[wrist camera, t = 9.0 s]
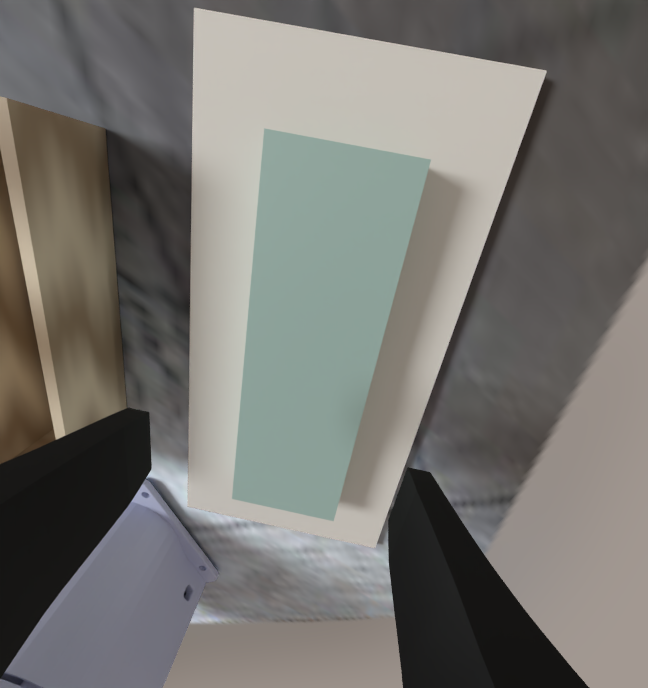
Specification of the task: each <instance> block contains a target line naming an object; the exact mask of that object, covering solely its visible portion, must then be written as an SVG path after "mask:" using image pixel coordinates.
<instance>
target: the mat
mask: <svg viewBox="0 0 648 688" xmlns="http://www.w3.org/2000/svg"><path fill="white" fill-rule="evenodd" d="M546 72H547V71H545V70H540V69H534V68H528V67H523V66H517V65H512V64H506V63H500V62H495V61H489V60H484V59H478V58H472V57H467V56H461V55H456V54H450V53H444V52H439V51H433V50H428V49H422V48H416V47H411V46H405V45H400V44H394V43H388V42H383V41H377V40H372V39H366V38H360V37H355V36H349V35H344V34H338V33H332V32H327V31H321V30H316V29H310V28H304V27H299V26H293V25H288V24H282V23H276V22H271V21H265V20H260V19H254V18H248V17H243V16H237V15H232V14H226V13H220V12H215V11H209V10H204V9H198V8H194V50H193V126H192V202H191V279H190V355H189V432H188V507H191V508H196V509H200V510H205V511H209V512H214V513H218V514H223V515H227V516H232V517H236V518H241V519H245V520H250V521H254V522H259V523H263V524H268V525H273V526H277V527H282V528H286V529H291V530H295V531H300V532H304V533H309V534H313V535H318V536H322V537H327V538H331V539H336V540H340V541H345V542H349V543H354V544H358V545H363V546H367V547H372V548H375V547H376V544H377V541H378V539H379V536H380V533H381V530H382V527H383V525H384V522H385V519H386V516H387V514H388V511H389V508H390V505H391V502H392V500H393V497H394V494H395V491H396V489H397V486H398V483H399V480H400V478H401V475H402V472H403V469H404V466H405V464H406V461H407V458H408V455H409V453H410V450H411V447H412V444H413V441H414V439H415V436H416V433H417V430H418V428H419V425H420V422H421V419H422V416H423V414H424V411H425V408H426V405H427V403H428V400H429V397H430V394H431V391H432V389H433V386H434V383H435V380H436V378H437V375H438V372H439V369H440V366H441V364H442V361H443V358H444V355H445V353H446V350H447V347H448V344H449V341H450V339H451V336H452V333H453V330H454V328H455V325H456V322H457V319H458V316H459V314H460V311H461V308H462V305H463V303H464V300H465V297H466V294H467V292H468V289H469V286H470V283H471V280H472V278H473V275H474V272H475V269H476V267H477V264H478V261H479V258H480V255H481V253H482V250H483V247H484V244H485V242H486V239H487V236H488V233H489V230H490V228H491V225H492V222H493V219H494V217H495V214H496V211H497V208H498V205H499V203H500V200H501V197H502V194H503V192H504V189H505V186H506V183H507V180H508V178H509V175H510V172H511V169H512V167H513V164H514V161H515V158H516V155H517V153H518V150H519V147H520V144H521V142H522V139H523V136H524V133H525V130H526V128H527V125H528V122H529V119H530V117H531V114H532V111H533V108H534V105H535V103H536V100H537V97H538V94H539V92H540V89H541V86H542V83H543V81H544V78H545V75H546ZM264 128H265V129H270V130H276V131H281V132H286V133H292V134H297V135H302V136H308V137H313V138H318V139H324V140H329V141H334V142H340V143H345V144H350V145H356V146H361V147H366V148H372V149H377V150H382V151H388V152H393V153H398V154H404V155H409V156H414V157H420V158H425V159H430V160H431V162H430V166H429V169H428V173H427V177H426V180H425V184H424V188H423V192H422V195H421V199H420V203H419V206H418V210H417V214H416V218H415V221H414V225H413V229H412V232H411V236H410V240H409V243H408V247H407V251H406V255H405V258H404V262H403V266H402V269H401V273H400V277H399V281H398V284H397V288H396V292H395V295H394V299H393V303H392V307H391V310H390V314H389V318H388V321H387V325H386V329H385V333H384V336H383V340H382V344H381V347H380V351H379V355H378V359H377V362H376V366H375V370H374V373H373V377H372V381H371V384H370V388H369V392H368V396H367V399H366V403H365V407H364V410H363V414H362V418H361V422H360V425H359V429H358V433H357V436H356V440H355V444H354V448H353V451H352V455H351V459H350V462H349V466H348V470H347V474H346V477H345V481H344V485H343V488H342V492H341V496H340V499H339V503H338V507H337V511H336V514H335V518H334V521H330V520H325V519H321V518H316V517H312V516H307V515H303V514H298V513H294V512H289V511H285V510H280V509H275V508H271V507H266V506H262V505H257V504H253V503H248V502H244V501H239V500H235V499H232V492H233V481H234V469H235V458H236V446H237V435H238V424H239V412H240V401H241V389H242V378H243V366H244V355H245V343H246V332H247V321H248V309H249V298H250V286H251V275H252V263H253V252H254V240H255V229H256V217H257V206H258V195H259V183H260V172H261V160H262V149H263V137H264Z"/></svg>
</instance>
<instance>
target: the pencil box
mask: <svg viewBox="0 0 648 688" xmlns="http://www.w3.org/2000/svg"><path fill="white" fill-rule="evenodd" d="M126 408H127V401H126V388H125V376H124V363H123V350H122V337H121V324H120V311H119V298H118V285H117V272H116V259H115V247H114V234H113V221H112V208H111V195H110V182H109V169H108V156H107V143H106V130H105V128H102V127H99V126H95V125H92V124H89V123H86V122H83V121H79V120H76V119H73V118H70V117H66V116H63V115H60V114H57V113H53V112H50V111H47V110H44V109H41V108H37V107H34V106H31V105H28V104H24V103H21V102H18V101H15V100H11V99H8V98H4V97H0V464H1V463H4V462H6V461H8V460H11V459H13V458H16V457H18V456H20V455H23V454H25V453H28V452H30V451H32V450H35V449H37V448H39V447H41V446H43V445H46V444H48V443H50V442H52V441H54V440H57V439H59V438H61V437H63V436H66V435H68V434H70V433H72V432H74V431H77V430H79V429H81V428H83V427H85V426H87V425H90V424H92V423H94V422H96V421H98V420H101V419H103V418H105V417H107V416H110V415H112V414H114V413H116V412H119V411H121V410H124V409H126Z"/></svg>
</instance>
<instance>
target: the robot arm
mask: <svg viewBox="0 0 648 688" xmlns="http://www.w3.org/2000/svg"><path fill="white" fill-rule="evenodd" d="M151 469H152V468H151V444H150V421H149V412H145V411H140V410H136V409H131V408H126V409H124V410H121V411H119V412H116V413H114V414H112V415H110V416H107V417H105V418H103V419H101V420H98V421H96V422H94V423H92V424H90V425H87V426H85V427H83V428H81V429H79V430H77V431H74V432H72V433H70V434H68V435H66V436H63V437H61V438H59V439H57V440H54V441H52V442H50V443H48V444H46V445H43V446H41V447H39V448H37V449H35V450H32V451H30V452H28V453H25V454H23V455H20V456H18V457H16V458H13V459H11V460H8V461H6V462H4V463H1V464H0V688H163V686H164V683H165V681H166V679H167V676H168V674H169V672H170V669H171V666H172V664H173V662H174V659H175V657H176V655H177V652H178V650H179V647H180V645H181V642H182V640H183V637H184V635H185V633H186V630H187V628H188V626H189V623H190V621H191V618H192V616H193V614H194V611H195V609H196V606H197V604H198V601H199V599H200V597H201V594H202V592H203V589H204V587H205V584H206V583H209V582H214V581H216V580H217V577H218V574H219V573H218V571H217V570H216V568H215V567H214V566H213V564H212V563H211V562H210V560H209V559H208V558H207V556H206V555H205V554H204V552H203V551H202V550H201V549H200V547H199V546H198V545H197V543H196V542H195V541H194V539H193V538H192V537H191V535H190V534H189V533H188V531H187V530H186V529H185V527H184V526H183V525H182V523H181V522H180V521H179V520H178V518H177V517H176V516H175V514H174V513H173V512H172V510H171V509H170V508H169V506H168V505H167V504H166V502H165V501H164V500H163V498H162V497H161V496H160V494H159V493H158V492H157V491H156V489H155V488H154V487H153V485H152V484H151V483H150V482H149V481H148V480H146V477H147V476H148V474H149V472H150V471H151ZM388 546H389V568H390V577H391V586H392V594H393V603H394V611H395V620H396V628H397V636H398V644H399V653H400V662H401V670H402V682H403V688H589V687H588V686H587V685H586V684H585V682H584V681H583V680H582V679H581V678H580V677H579V676H578V674H577V673H576V672H575V671H574V670H573V669H572V667H571V666H570V665H569V664H568V663H567V661H566V660H565V659H564V658H563V656H562V655H561V654H560V653H559V652H558V650H557V649H556V648H555V647H554V646H553V644H552V643H551V642H550V641H549V639H548V638H547V637H546V636H545V635H544V633H543V632H542V631H541V630H540V629H539V627H538V626H537V625H536V624H535V622H534V621H533V620H532V619H531V617H530V616H529V615H528V613H527V612H526V611H525V610H524V609H523V607H522V606H521V605H520V603H519V602H518V600H517V599H516V598H515V596H514V595H513V594H512V592H511V591H510V590H509V588H508V587H507V586H506V584H505V583H504V582H503V580H502V579H501V578H500V576H499V575H498V574H497V572H496V571H495V570H494V568H493V567H492V565H491V564H490V562H489V561H488V560H487V558H486V557H485V555H484V554H483V552H482V551H481V549H480V548H479V546H478V545H477V544H476V542H475V541H474V539H473V538H472V536H471V535H470V533H469V532H468V530H467V529H466V527H465V526H464V524H463V523H462V521H461V520H460V518H459V516H458V515H457V513H456V512H455V510H454V509H453V507H452V506H451V504H450V503H449V501H448V499H447V498H446V496H445V495H444V493H443V492H442V490H441V488H440V487H439V485H438V484H437V482H436V481H435V479H434V477H433V476H432V474H431V473H430V472H427V471H422V470H417V469H413V468H407V471H406V473H405V476H404V479H403V482H402V484H401V487H400V490H399V493H398V495H397V498H396V501H395V504H394V506H393V509H392V512H391V515H390V517H389V520H388Z"/></svg>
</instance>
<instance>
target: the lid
mask: <svg viewBox="0 0 648 688" xmlns="http://www.w3.org/2000/svg"><path fill="white" fill-rule="evenodd" d="M430 162H431V160H430V159H425V158H420V157H414V156H409V155H404V154H398V153H393V152H388V151H382V150H377V149H372V148H366V147H361V146H356V145H350V144H345V143H340V142H334V141H329V140H324V139H318V138H313V137H308V136H302V135H297V134H292V133H286V132H281V131H276V130H270V129H265V128H264V137H263V149H262V160H261V172H260V183H259V195H258V206H257V217H256V229H255V240H254V252H253V263H252V275H251V286H250V298H249V309H248V321H247V332H246V343H245V355H244V366H243V378H242V389H241V401H240V412H239V424H238V435H237V446H236V458H235V469H234V481H233V492H232V499H235V500H239V501H244V502H248V503H253V504H257V505H262V506H266V507H271V508H275V509H280V510H285V511H289V512H294V513H298V514H303V515H307V516H312V517H316V518H321V519H325V520H330V521H334V518H335V514H336V511H337V507H338V503H339V499H340V496H341V492H342V488H343V485H344V481H345V477H346V474H347V470H348V466H349V462H350V459H351V455H352V451H353V448H354V444H355V440H356V436H357V433H358V429H359V425H360V422H361V418H362V414H363V410H364V407H365V403H366V399H367V396H368V392H369V388H370V384H371V381H372V377H373V373H374V370H375V366H376V362H377V359H378V355H379V351H380V347H381V344H382V340H383V336H384V333H385V329H386V325H387V321H388V318H389V314H390V310H391V307H392V303H393V299H394V295H395V292H396V288H397V284H398V281H399V277H400V273H401V269H402V266H403V262H404V258H405V255H406V251H407V247H408V243H409V240H410V236H411V232H412V229H413V225H414V221H415V218H416V214H417V210H418V206H419V203H420V199H421V195H422V192H423V188H424V184H425V180H426V177H427V173H428V169H429V166H430Z"/></svg>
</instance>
